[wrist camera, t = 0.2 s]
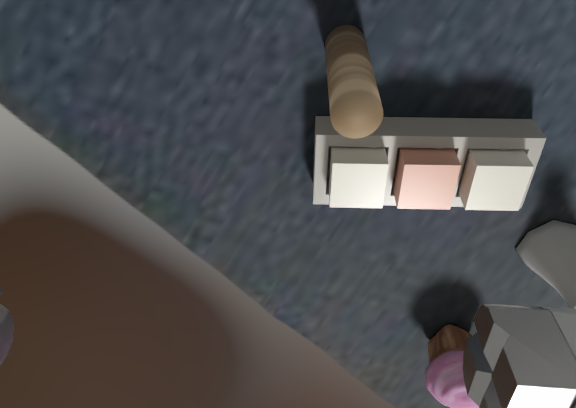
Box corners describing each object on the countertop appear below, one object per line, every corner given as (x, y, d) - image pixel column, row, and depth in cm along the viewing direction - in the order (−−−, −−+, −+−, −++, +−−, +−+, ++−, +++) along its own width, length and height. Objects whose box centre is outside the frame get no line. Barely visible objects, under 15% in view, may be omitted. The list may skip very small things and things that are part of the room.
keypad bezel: (315, 115, 49) (315, 134, 47) (532, 119, 49) (546, 138, 46) (312, 183, 54) (313, 204, 52) (510, 186, 54) (521, 207, 51)
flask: (553, 209, 56) (594, 275, 48) (596, 237, 58) (642, 305, 50) (502, 249, 60) (532, 317, 52) (545, 274, 62) (580, 343, 54)
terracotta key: (400, 147, 48) (404, 164, 45) (454, 148, 48) (461, 165, 45) (393, 191, 51) (397, 208, 49) (443, 191, 51) (450, 209, 48)
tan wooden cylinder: (325, 24, 44) (331, 90, 34) (367, 25, 44) (386, 91, 34) (324, 64, 46) (328, 138, 36) (363, 65, 46) (380, 138, 36)
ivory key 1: (469, 149, 48) (477, 165, 45) (523, 150, 47) (533, 166, 45) (458, 192, 51) (465, 209, 48) (509, 193, 51) (518, 210, 48)
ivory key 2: (331, 146, 48) (332, 163, 46) (384, 147, 48) (388, 164, 46) (328, 189, 51) (329, 207, 49) (379, 190, 51) (382, 208, 49)
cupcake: (441, 306, 66) (459, 375, 58) (497, 325, 68) (522, 393, 60) (405, 345, 71) (417, 413, 63) (458, 361, 73) (477, 429, 65)
